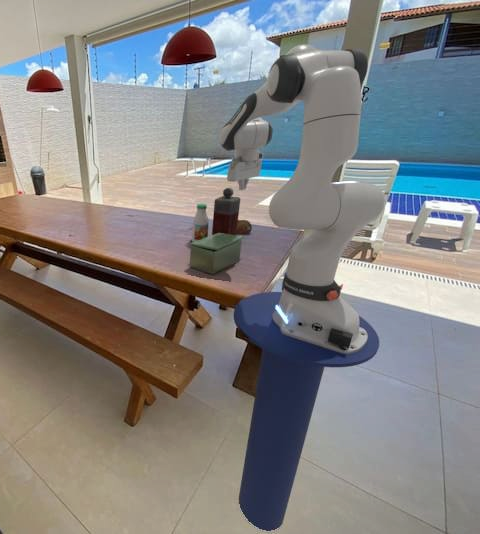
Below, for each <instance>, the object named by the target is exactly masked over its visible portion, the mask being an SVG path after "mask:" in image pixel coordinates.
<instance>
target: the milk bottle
mask: <svg viewBox="0 0 480 534" xmlns="http://www.w3.org/2000/svg"><path fill="white" fill-rule="evenodd" d="M207 208H208V205H207V204H206V203H198V204H197V205H196V213H195V215H194V217H193V221H192V233H191V235H192V236H191V243H193V242H196V241H198V240H201V239H204V238H206V237H209V224H210V223H209V221H210V220H209V217H208V214H207Z"/></svg>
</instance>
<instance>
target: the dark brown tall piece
mask: <svg viewBox="0 0 480 534" xmlns="http://www.w3.org/2000/svg"><path fill="white" fill-rule="evenodd" d="M234 193H235V192H234V189H233V188H231V187H226V188H225V189H223V191H222V195H221V196H218V197H217V198H215V199H214V203H213V216H212V229H211V235H214V234H217V233H223V234H230V235H237V234H238V233H237V224H238V220H239V215H240V206H241V197H239V196H233V195H234Z"/></svg>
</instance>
